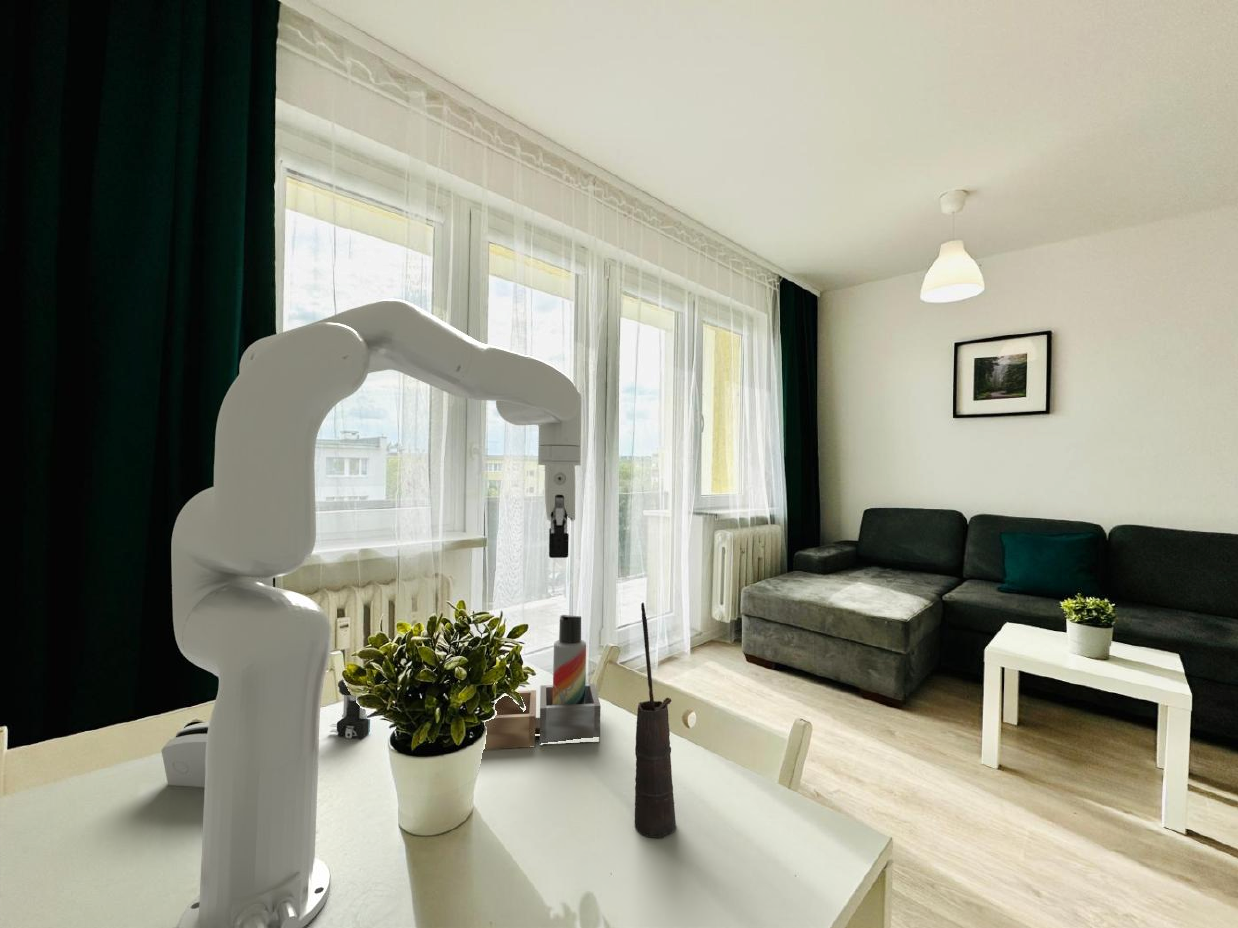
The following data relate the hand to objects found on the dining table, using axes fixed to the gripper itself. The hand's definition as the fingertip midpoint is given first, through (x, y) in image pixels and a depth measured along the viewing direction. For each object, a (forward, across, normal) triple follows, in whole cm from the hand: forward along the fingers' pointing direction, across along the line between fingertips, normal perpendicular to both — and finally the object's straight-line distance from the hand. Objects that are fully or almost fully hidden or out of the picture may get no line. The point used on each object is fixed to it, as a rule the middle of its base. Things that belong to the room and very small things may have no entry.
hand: (558, 553), depth 93 cm
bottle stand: (+31, 0, +3) cm, 31 cm away
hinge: (+31, -12, +46) cm, 57 cm away
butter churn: (+31, -27, -13) cm, 43 cm away
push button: (+31, +2, +35) cm, 46 cm away
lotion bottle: (+31, 0, -2) cm, 31 cm away
